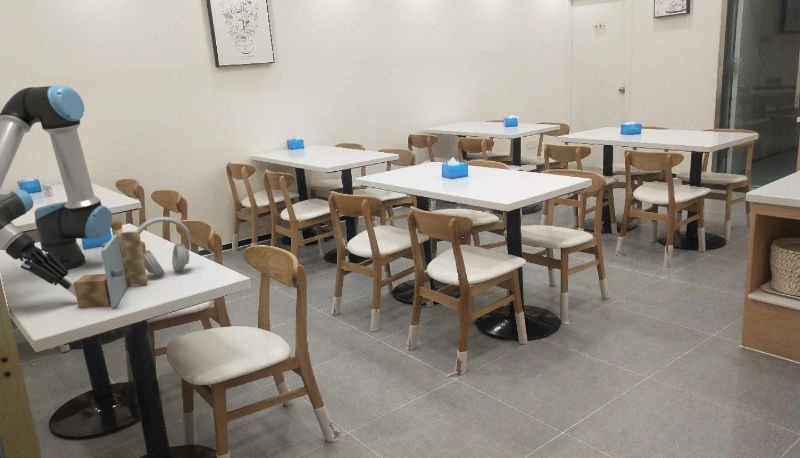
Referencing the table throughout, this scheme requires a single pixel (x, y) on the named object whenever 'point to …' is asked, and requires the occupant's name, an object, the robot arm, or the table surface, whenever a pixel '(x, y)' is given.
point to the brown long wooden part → (131, 255)
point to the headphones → (179, 251)
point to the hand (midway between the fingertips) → (80, 293)
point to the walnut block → (92, 291)
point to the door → (114, 270)
